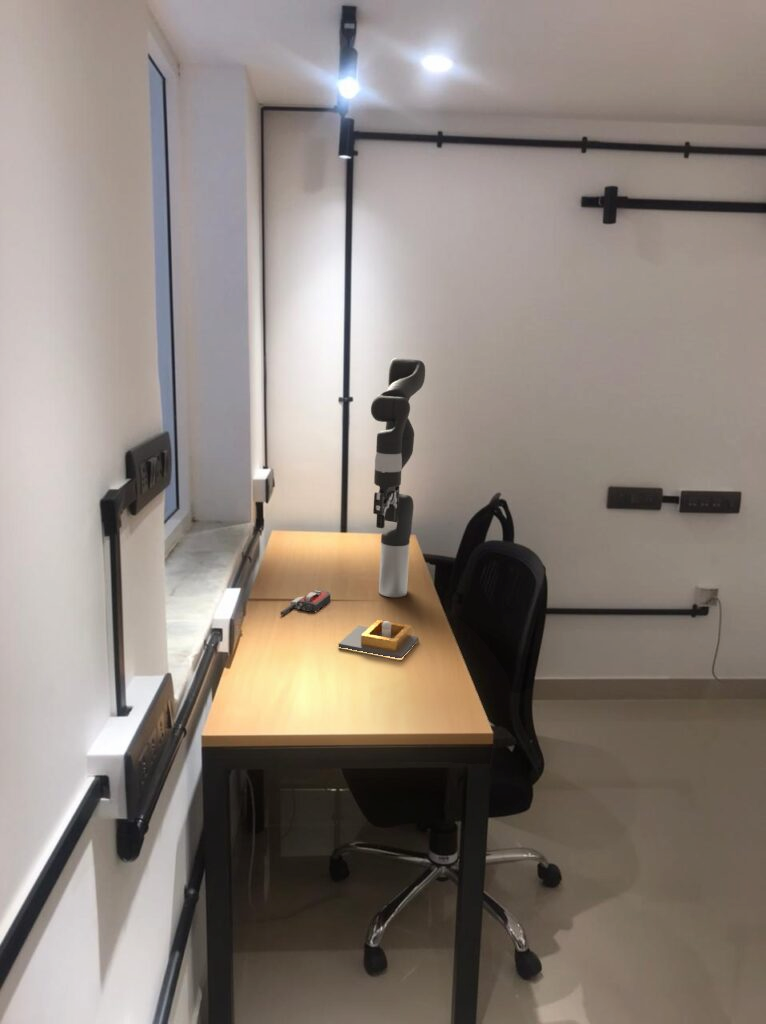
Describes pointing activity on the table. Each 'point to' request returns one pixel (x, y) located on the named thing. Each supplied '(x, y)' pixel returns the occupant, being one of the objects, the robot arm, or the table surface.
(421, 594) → the table surface
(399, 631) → the link ring
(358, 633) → the plate
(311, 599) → the walkie-talkie
